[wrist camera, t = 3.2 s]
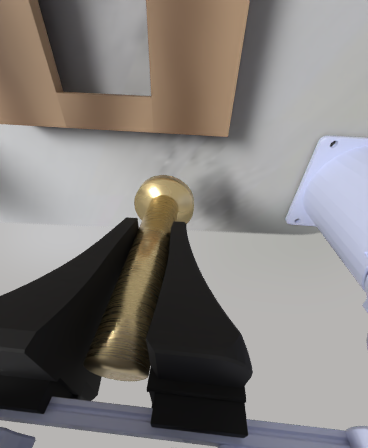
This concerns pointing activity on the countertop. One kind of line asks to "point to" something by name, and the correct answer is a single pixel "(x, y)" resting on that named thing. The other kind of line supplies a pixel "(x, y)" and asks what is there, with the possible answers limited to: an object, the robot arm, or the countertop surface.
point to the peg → (139, 283)
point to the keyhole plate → (159, 72)
